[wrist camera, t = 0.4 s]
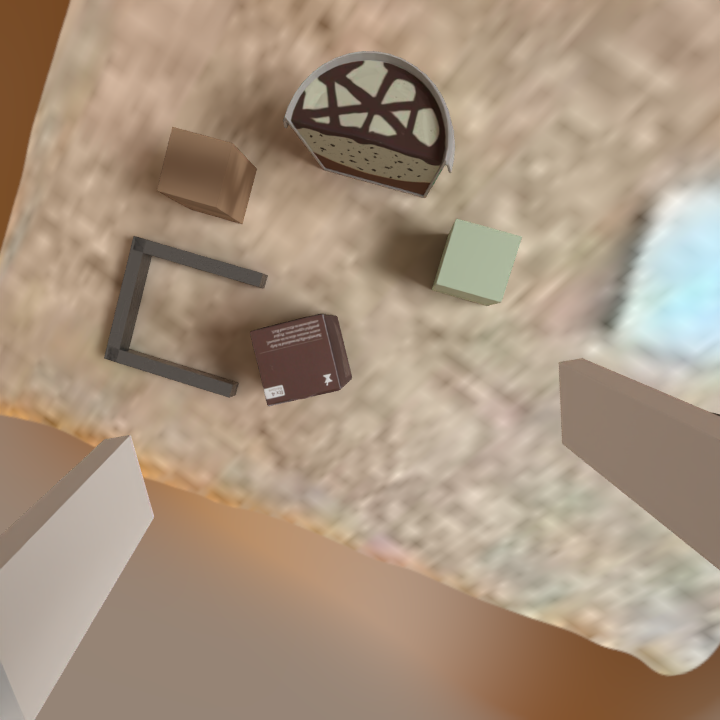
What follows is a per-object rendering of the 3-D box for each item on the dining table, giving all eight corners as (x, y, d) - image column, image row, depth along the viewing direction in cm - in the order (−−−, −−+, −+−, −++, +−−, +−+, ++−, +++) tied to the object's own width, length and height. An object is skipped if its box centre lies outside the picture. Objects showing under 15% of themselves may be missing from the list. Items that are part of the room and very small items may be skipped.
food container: (463, 131, 40) (483, 67, 30) (441, 202, 41) (454, 162, 31) (326, 95, 41) (301, 21, 31) (307, 165, 42) (276, 114, 32)
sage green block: (448, 234, 41) (456, 218, 35) (504, 249, 41) (522, 236, 35) (431, 290, 42) (436, 283, 36) (487, 305, 41) (501, 302, 35)
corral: (142, 239, 44) (133, 235, 42) (267, 275, 43) (262, 273, 41) (114, 357, 45) (104, 358, 43) (235, 395, 44) (229, 397, 42)
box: (338, 314, 43) (324, 312, 35) (353, 379, 43) (343, 390, 36) (274, 329, 43) (247, 330, 36) (289, 394, 43) (265, 407, 36)
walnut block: (204, 154, 43) (172, 126, 37) (257, 169, 42) (232, 143, 36) (191, 209, 43) (156, 190, 37) (242, 224, 43) (216, 207, 37)
